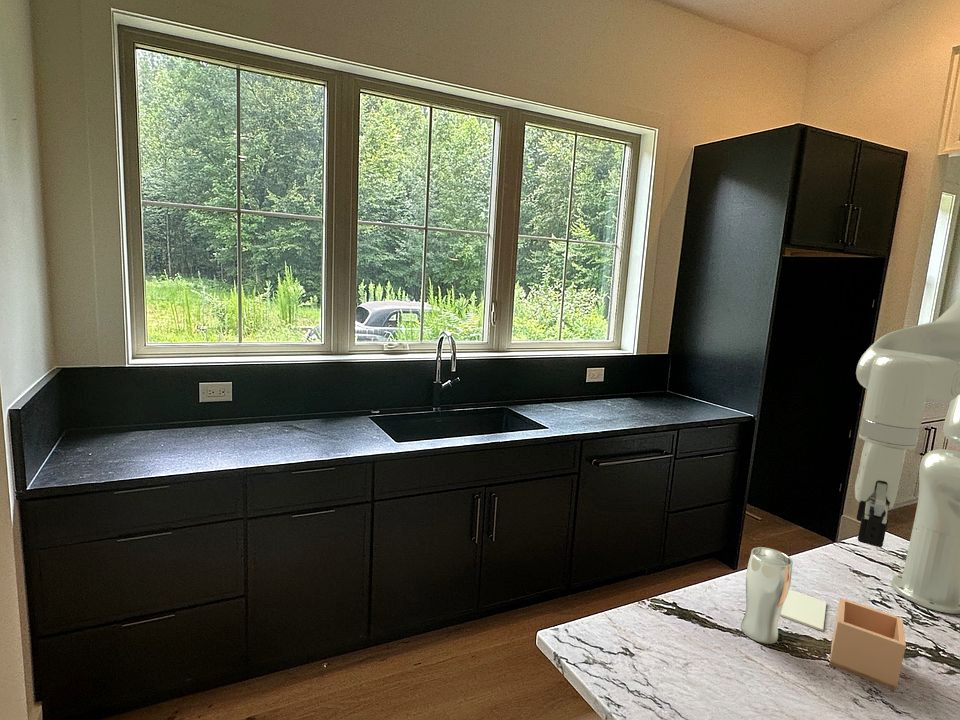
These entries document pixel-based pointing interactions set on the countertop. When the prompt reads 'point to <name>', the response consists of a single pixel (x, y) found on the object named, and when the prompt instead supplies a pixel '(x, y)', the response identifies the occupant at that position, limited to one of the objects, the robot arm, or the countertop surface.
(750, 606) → the beer glass
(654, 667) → the countertop surface
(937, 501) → the robot arm
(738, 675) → the countertop surface
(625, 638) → the countertop surface
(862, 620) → the open box
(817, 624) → the plain cream tile
